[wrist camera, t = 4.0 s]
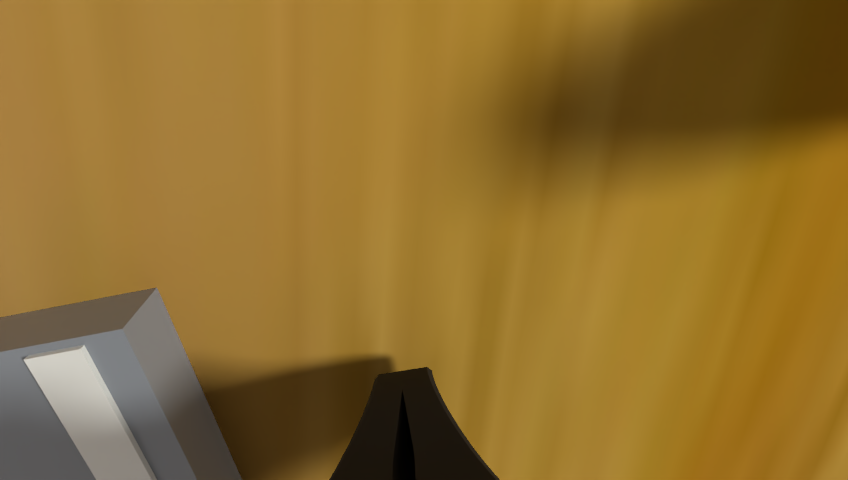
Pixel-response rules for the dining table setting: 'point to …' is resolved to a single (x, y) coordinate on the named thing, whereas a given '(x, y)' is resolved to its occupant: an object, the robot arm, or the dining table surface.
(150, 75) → the dining table surface
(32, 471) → the tile
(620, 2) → the dining table surface
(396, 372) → the robot arm
